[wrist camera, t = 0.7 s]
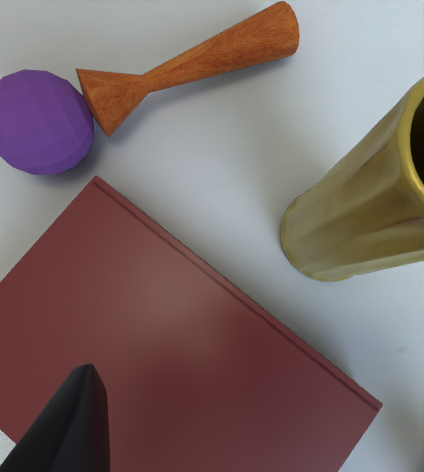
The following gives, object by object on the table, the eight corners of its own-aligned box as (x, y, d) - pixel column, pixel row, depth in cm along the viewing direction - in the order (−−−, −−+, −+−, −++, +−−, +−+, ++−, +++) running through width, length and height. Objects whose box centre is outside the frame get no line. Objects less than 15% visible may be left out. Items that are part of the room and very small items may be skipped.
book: (358, 388, 22) (383, 404, 19) (223, 583, 20) (225, 639, 17) (111, 191, 24) (96, 174, 21) (-31, 352, 22) (-72, 362, 19)
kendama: (324, 45, 21) (-8, 180, 18) (287, 89, 27) (32, 196, 24) (282, -49, 21) (-61, 72, 18) (254, 16, 27) (-8, 115, 24)
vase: (372, 193, 24) (604, 46, 10) (373, 285, 23) (631, 269, 9) (281, 187, 24) (381, 32, 10) (277, 278, 23) (382, 251, 9)
